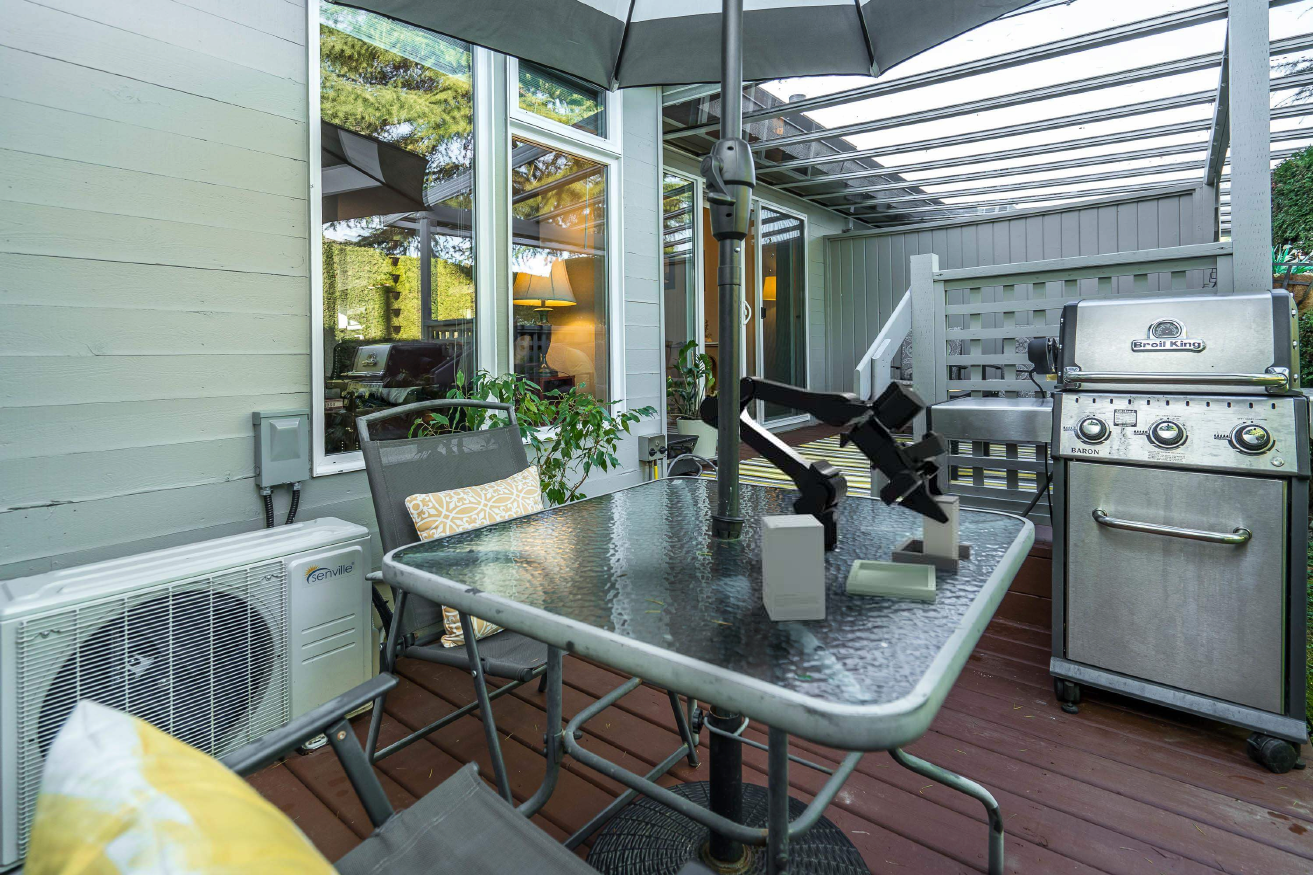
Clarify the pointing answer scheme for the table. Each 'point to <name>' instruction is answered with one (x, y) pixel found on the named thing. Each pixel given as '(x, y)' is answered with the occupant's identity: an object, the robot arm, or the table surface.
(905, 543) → the cradle
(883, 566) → the tray
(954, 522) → the tall cream pillar
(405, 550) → the table surface
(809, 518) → the supplement box
